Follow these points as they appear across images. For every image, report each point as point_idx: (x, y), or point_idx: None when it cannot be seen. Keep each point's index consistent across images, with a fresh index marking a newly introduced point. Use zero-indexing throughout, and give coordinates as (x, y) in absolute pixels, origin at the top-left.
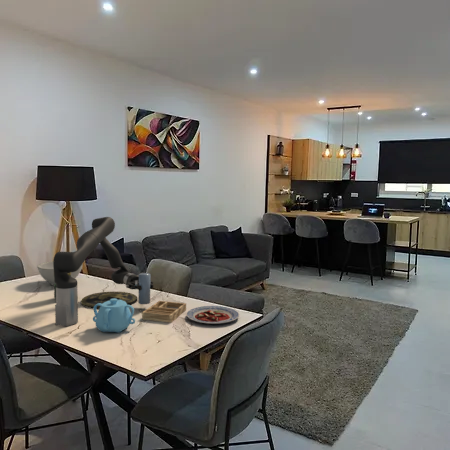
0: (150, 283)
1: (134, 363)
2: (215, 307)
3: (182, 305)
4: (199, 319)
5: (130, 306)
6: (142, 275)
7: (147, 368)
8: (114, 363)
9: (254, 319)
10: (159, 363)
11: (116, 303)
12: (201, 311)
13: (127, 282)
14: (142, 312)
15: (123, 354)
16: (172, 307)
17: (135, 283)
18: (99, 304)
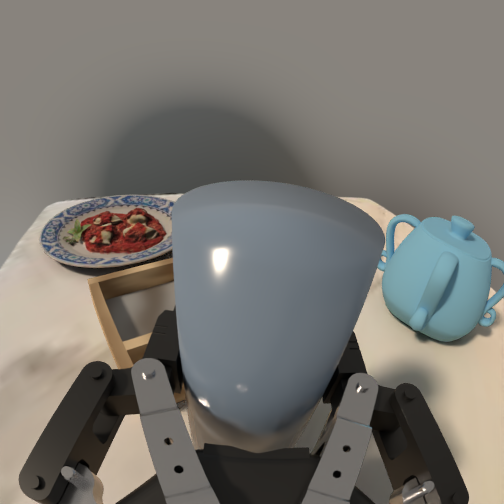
0: (164, 340)
1: (380, 212)
2: (52, 242)
3: (122, 273)
4: (164, 231)
5: (403, 214)
6: (337, 198)
7: (364, 202)
8: (406, 223)
9: (80, 199)
10: (347, 200)
11: (450, 232)
12: (94, 257)
13: (457, 502)
14: None
15: (395, 229)
16: (124, 333)
17: (363, 423)
18: (498, 259)
